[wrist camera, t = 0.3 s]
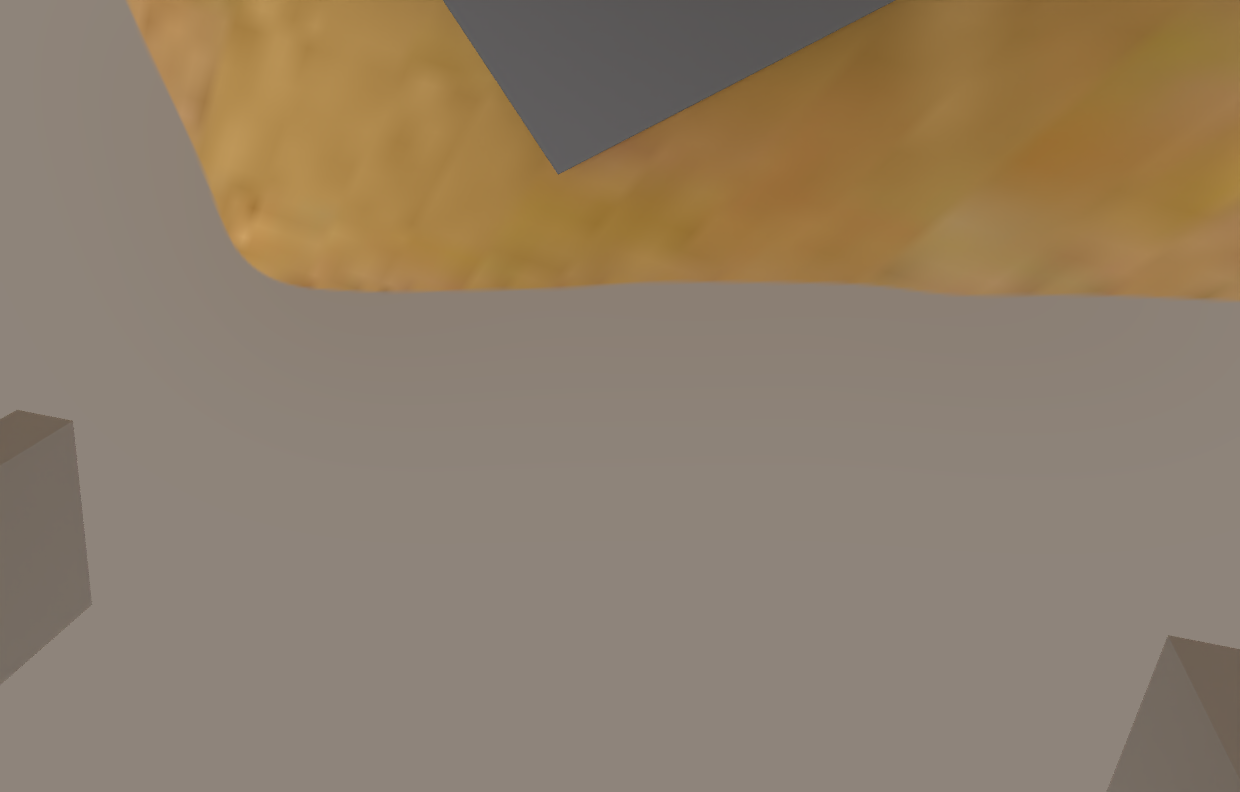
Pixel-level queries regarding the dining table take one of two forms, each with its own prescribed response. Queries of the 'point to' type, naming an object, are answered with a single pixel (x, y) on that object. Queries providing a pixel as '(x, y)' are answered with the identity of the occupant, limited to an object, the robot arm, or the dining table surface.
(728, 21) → the slate pad
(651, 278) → the dining table surface
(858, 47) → the dining table surface
